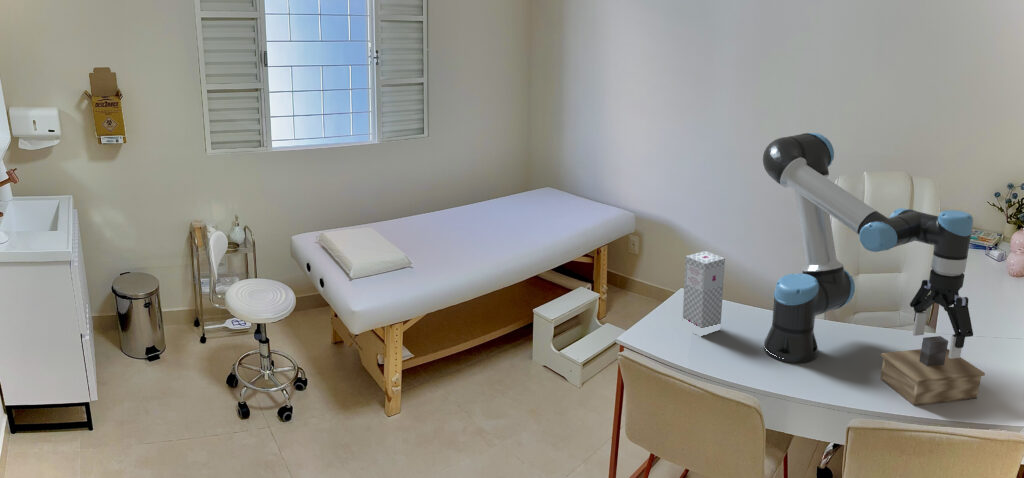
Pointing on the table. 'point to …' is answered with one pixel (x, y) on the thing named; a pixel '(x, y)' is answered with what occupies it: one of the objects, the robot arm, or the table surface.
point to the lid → (932, 362)
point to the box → (703, 289)
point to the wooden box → (929, 387)
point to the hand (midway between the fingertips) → (935, 345)
